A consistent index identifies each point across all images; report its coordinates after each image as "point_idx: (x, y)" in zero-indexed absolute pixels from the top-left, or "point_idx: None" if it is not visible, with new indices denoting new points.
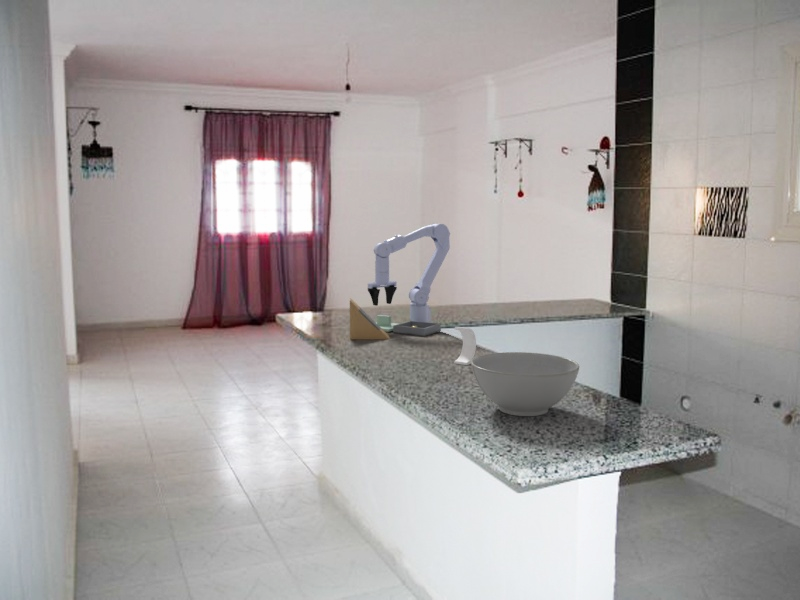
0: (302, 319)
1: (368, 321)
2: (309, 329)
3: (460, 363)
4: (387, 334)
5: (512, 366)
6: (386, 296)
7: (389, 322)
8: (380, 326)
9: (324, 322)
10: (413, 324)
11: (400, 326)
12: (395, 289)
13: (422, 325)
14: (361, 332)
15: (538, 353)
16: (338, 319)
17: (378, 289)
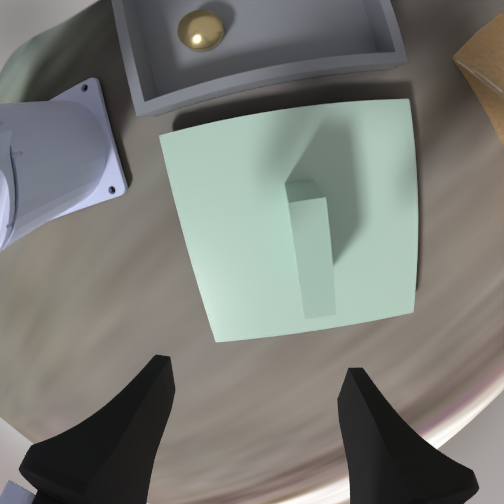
0: (323, 499)
1: None
2: (473, 403)
3: None
4: (479, 47)
5: None
6: (156, 445)
7: (310, 185)
8: (360, 217)
9: (331, 464)
10: (148, 84)
11: (391, 7)
12: (50, 449)
13: (134, 20)
14: None
15: None
16: (250, 471)
17: (442, 499)
